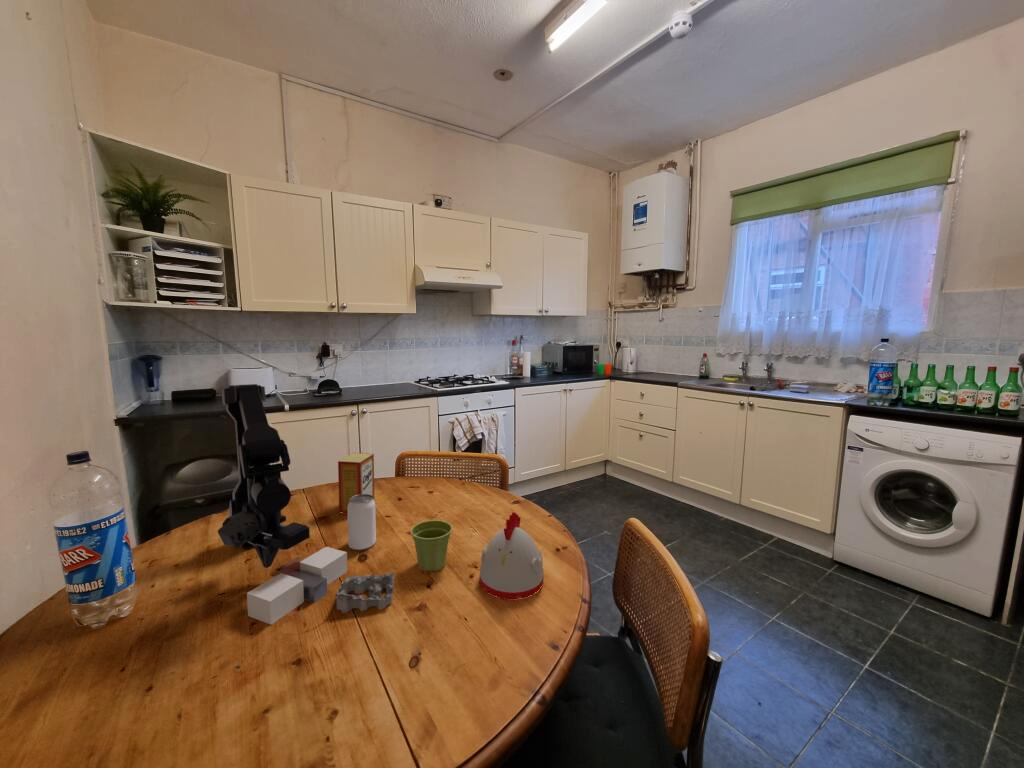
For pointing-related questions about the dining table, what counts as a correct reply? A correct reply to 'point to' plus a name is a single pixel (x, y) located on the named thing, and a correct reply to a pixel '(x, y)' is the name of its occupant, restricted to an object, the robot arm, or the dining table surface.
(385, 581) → the egg carton
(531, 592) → the kitchen timer
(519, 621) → the dining table surface
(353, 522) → the can
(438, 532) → the plant pot
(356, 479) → the baking soda box
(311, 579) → the l-shaped block
